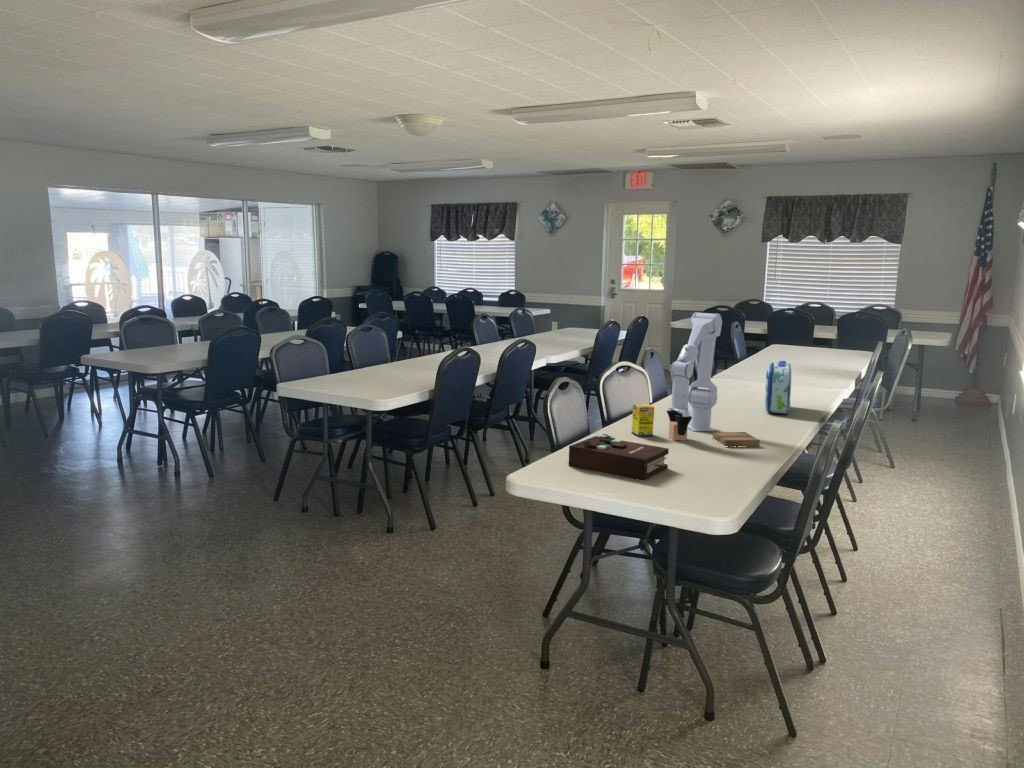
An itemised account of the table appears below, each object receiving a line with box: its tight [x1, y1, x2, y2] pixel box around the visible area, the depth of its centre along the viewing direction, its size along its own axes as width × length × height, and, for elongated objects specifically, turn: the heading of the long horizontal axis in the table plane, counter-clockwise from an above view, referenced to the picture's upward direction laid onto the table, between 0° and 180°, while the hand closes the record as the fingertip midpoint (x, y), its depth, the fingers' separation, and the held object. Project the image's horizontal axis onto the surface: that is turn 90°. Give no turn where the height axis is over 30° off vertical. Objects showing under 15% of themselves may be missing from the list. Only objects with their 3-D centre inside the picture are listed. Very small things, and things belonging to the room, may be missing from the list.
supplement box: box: [631, 403, 655, 438], centre depth 274 cm, size 6×6×11 cm
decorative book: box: [567, 433, 670, 482], centre depth 231 cm, size 19×8×30 cm
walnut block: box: [712, 431, 760, 448], centre depth 266 cm, size 12×12×3 cm
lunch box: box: [764, 360, 792, 415], centre depth 324 cm, size 26×11×21 cm, turn 160°
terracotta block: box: [668, 421, 689, 442], centre depth 269 cm, size 5×5×6 cm
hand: (677, 432), depth 269 cm, fingers open, 7 cm apart
